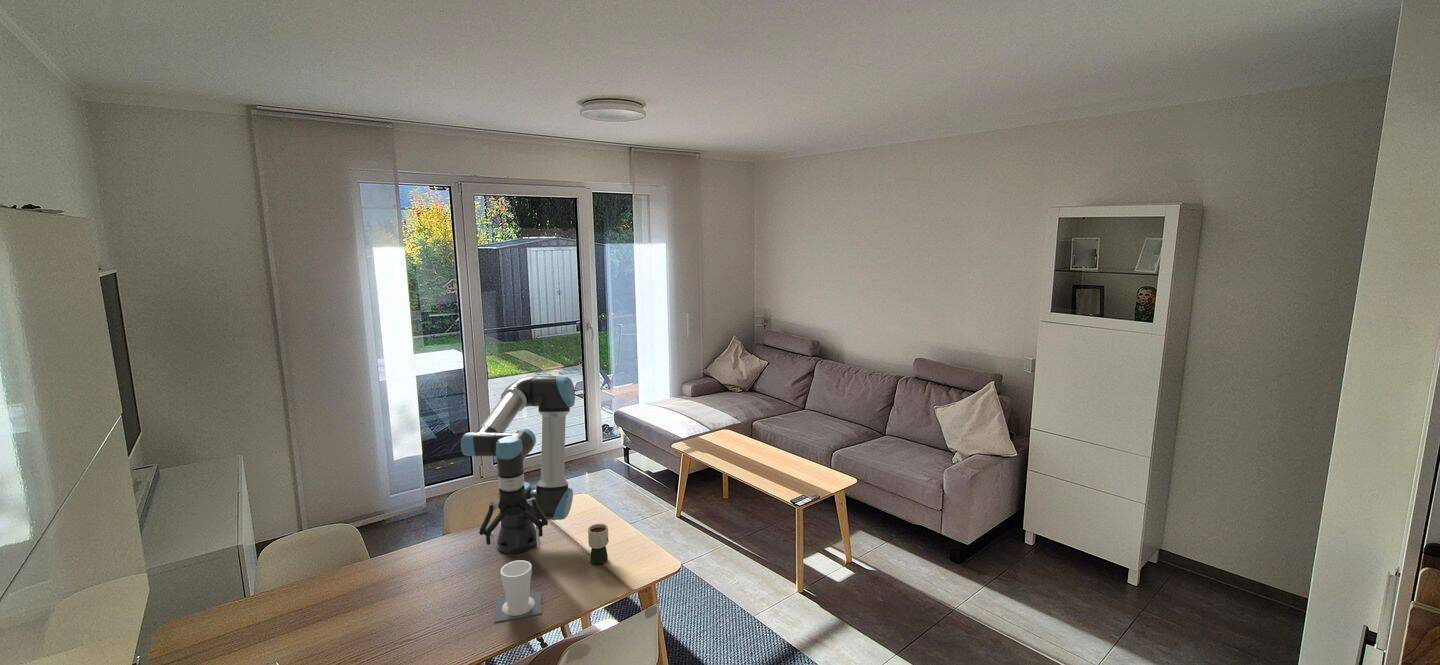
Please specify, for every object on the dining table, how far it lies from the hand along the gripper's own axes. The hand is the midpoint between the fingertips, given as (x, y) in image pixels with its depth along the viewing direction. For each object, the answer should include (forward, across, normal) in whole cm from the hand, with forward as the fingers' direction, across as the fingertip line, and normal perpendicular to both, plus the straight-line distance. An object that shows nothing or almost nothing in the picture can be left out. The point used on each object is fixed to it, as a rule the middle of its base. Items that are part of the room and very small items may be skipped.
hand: (515, 549), depth 191 cm
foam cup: (+20, 0, -1) cm, 20 cm away
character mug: (+20, +28, +18) cm, 39 cm away
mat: (+20, 0, -1) cm, 20 cm away
